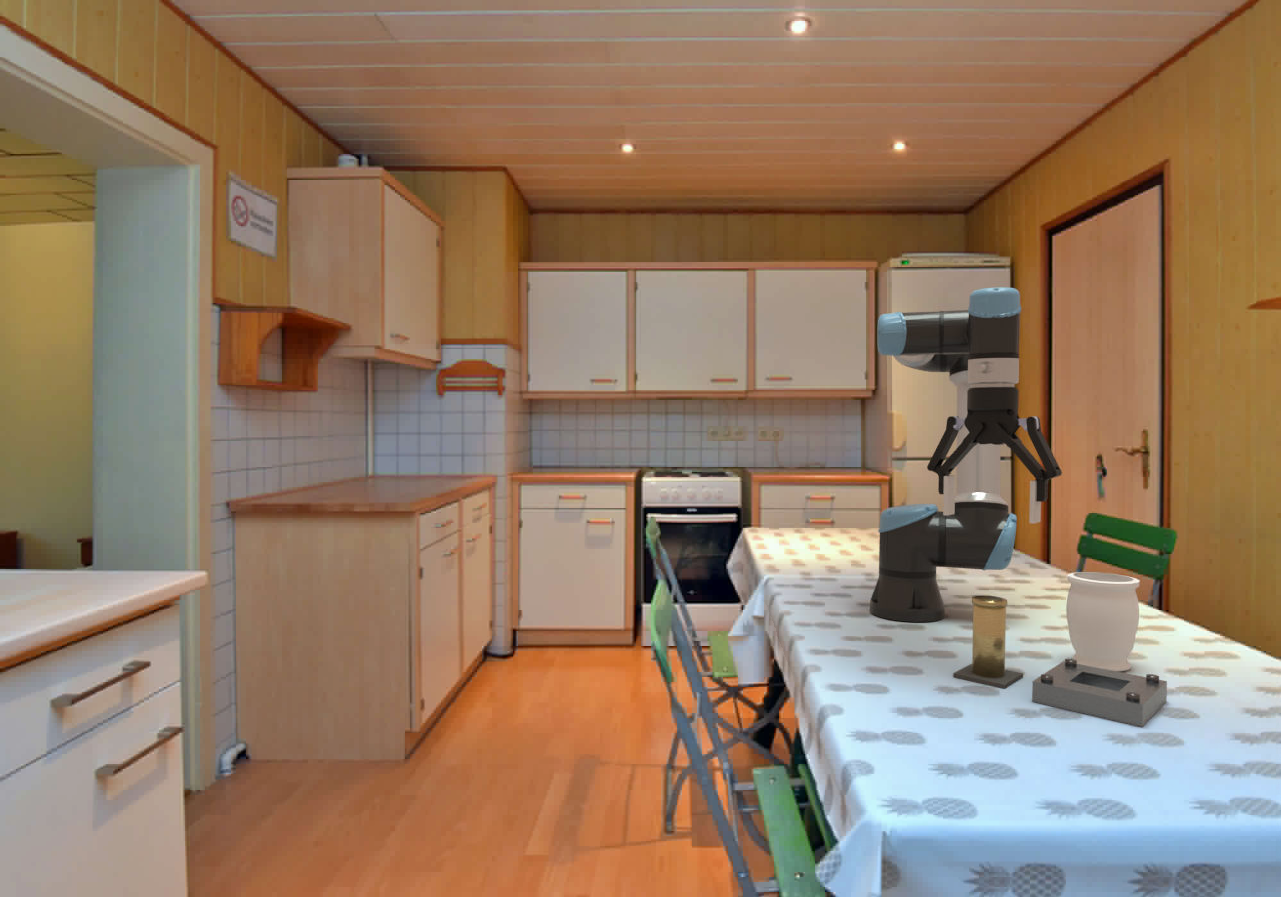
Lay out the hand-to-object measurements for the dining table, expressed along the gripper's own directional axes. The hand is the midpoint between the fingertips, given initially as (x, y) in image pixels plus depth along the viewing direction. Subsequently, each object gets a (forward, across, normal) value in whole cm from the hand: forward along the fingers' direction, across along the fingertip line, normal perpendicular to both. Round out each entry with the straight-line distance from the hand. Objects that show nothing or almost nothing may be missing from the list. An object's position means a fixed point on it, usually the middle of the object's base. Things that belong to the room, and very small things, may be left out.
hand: (990, 518), depth 129 cm
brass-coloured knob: (+25, +1, -2) cm, 25 cm away
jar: (+26, +12, +18) cm, 34 cm away
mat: (+25, +1, -2) cm, 25 cm away
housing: (+25, +17, -2) cm, 30 cm away
